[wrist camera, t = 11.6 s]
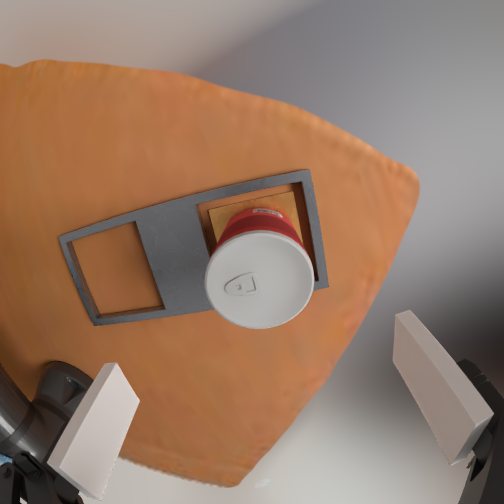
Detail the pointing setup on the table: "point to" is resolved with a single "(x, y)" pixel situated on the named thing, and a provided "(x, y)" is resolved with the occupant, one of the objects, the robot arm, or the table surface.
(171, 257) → the rail frame
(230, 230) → the canned food
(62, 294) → the table surface
